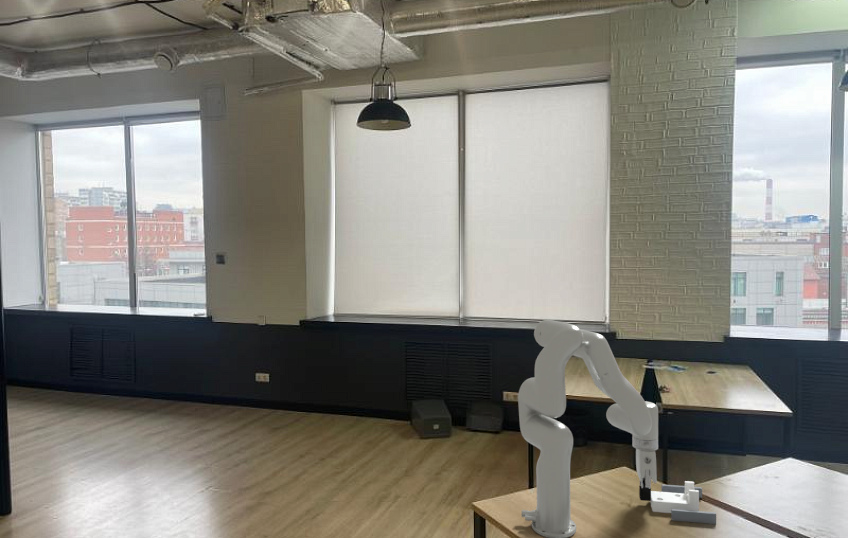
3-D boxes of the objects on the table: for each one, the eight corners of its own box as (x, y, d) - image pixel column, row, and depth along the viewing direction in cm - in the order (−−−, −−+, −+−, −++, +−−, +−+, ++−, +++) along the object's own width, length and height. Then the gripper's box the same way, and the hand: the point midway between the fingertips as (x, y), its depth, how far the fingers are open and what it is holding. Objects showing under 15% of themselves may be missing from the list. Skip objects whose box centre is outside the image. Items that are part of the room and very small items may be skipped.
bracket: (693, 505, 179) (693, 481, 178) (698, 516, 172) (698, 491, 171) (649, 501, 182) (649, 478, 181) (652, 512, 175) (652, 488, 174)
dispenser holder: (671, 520, 169) (671, 510, 169) (661, 493, 187) (661, 484, 186) (716, 524, 166) (716, 514, 166) (701, 496, 184) (701, 487, 184)
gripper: (662, 451, 170) (662, 511, 171) (653, 434, 185) (653, 490, 186) (635, 450, 172) (635, 509, 173) (629, 433, 186) (629, 488, 187)
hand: (645, 499), depth 179 cm, fingers closed
